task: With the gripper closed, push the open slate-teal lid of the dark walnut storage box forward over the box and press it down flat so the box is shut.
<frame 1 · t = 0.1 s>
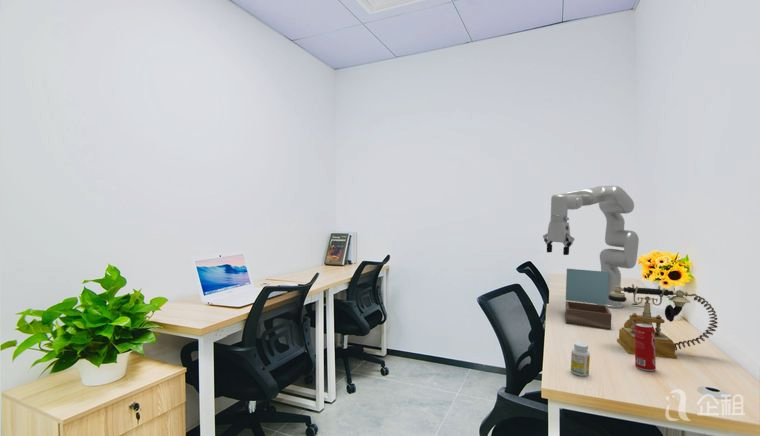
hand: (557, 253, 188), 31 cm above the table, tool pointing down, fingers open, 9 cm apart
rotary telephone: (655, 349, 147), on the table
beverage can: (643, 368, 129), on the table
lid: (586, 286, 188), point 15 cm above the table, hinge at 100.0°
supplement bottle: (579, 373, 125), on the table
storage box: (586, 321, 179), on the table
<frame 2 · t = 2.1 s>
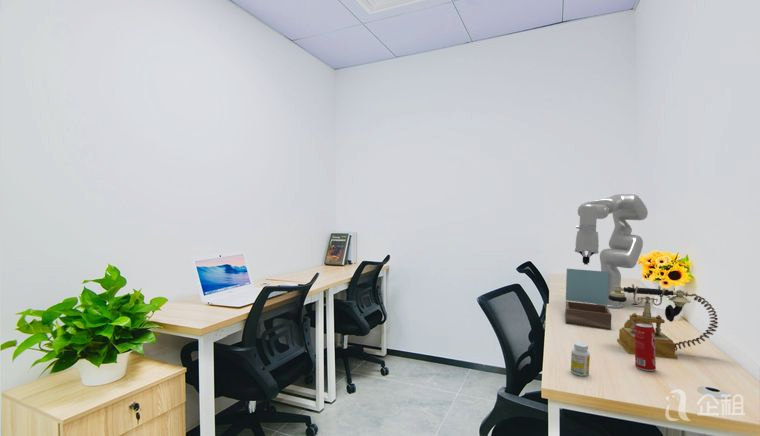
hand: (585, 264, 192), 25 cm above the table, tool pointing down, fingers closed
nothing on the table moved.
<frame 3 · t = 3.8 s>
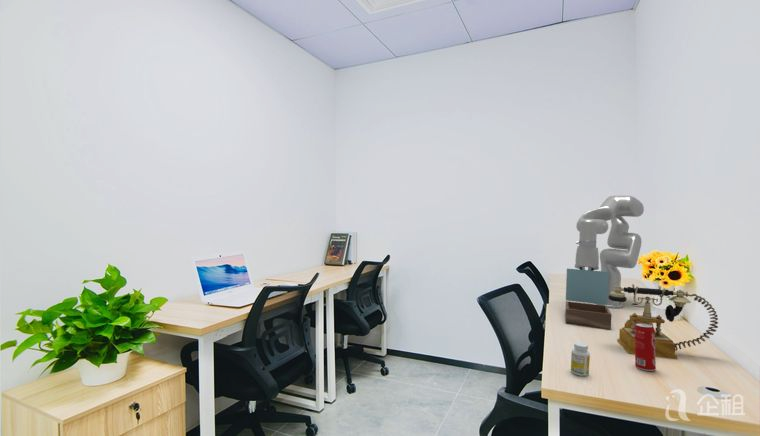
hand: (586, 280, 190), 18 cm above the table, tool pointing down, fingers closed
lid: (586, 286, 187), point 15 cm above the table, hinge at 97.0°, touching gripper
everything else where it was.
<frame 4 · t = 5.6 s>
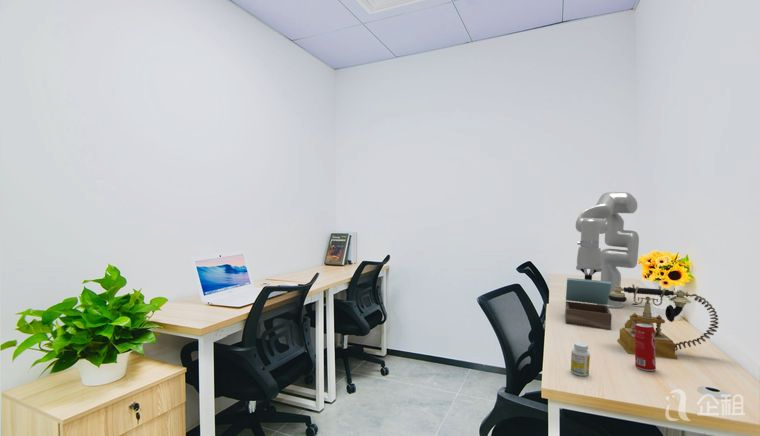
hand: (588, 282, 180), 18 cm above the table, tool pointing down, fingers closed
lid: (587, 291, 182), point 14 cm above the table, hinge at 50.6°, touching gripper
everything else where it was.
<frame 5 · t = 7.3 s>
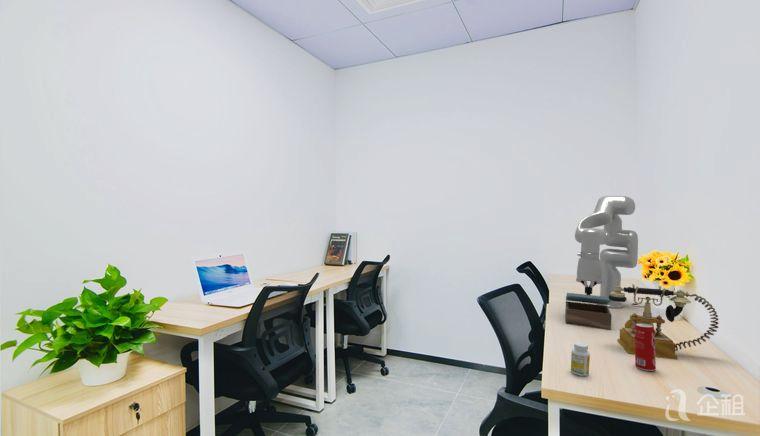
hand: (588, 295, 176), 14 cm above the table, tool pointing down, fingers closed
lid: (587, 298, 180), point 11 cm above the table, hinge at 21.5°, touching gripper
everything else where it was.
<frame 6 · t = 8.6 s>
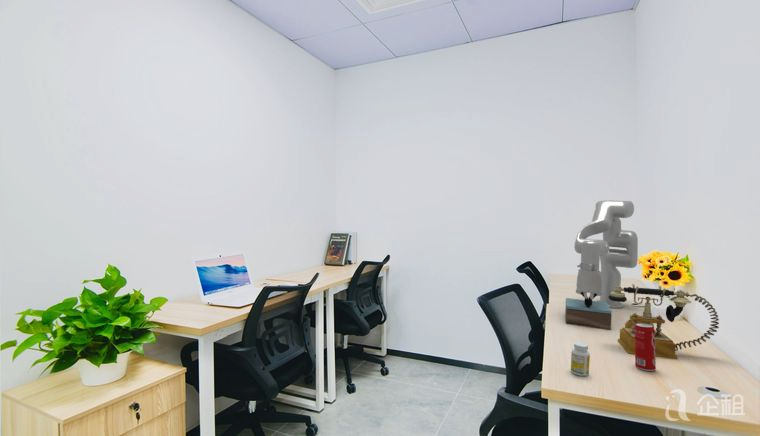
hand: (588, 306, 174), 9 cm above the table, tool pointing down, fingers closed
lid: (587, 305, 179), point 8 cm above the table, hinge at -0.4°, touching gripper
everything else where it was.
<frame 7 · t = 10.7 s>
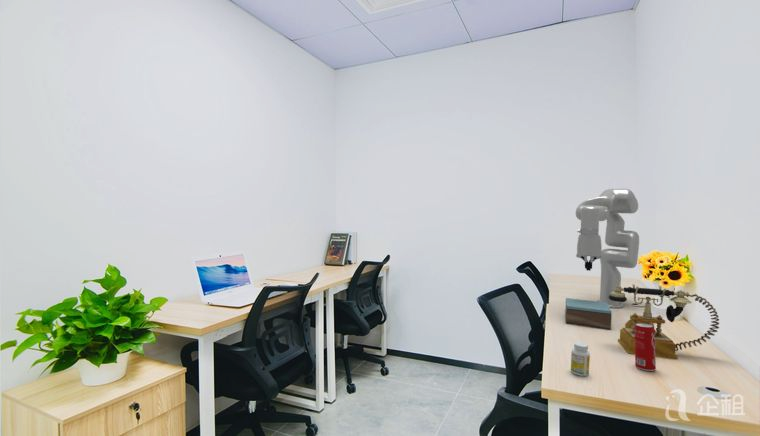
hand: (588, 270, 181), 24 cm above the table, tool pointing down, fingers closed
lid: (587, 305, 179), point 8 cm above the table, hinge at -0.4°
everything else where it was.
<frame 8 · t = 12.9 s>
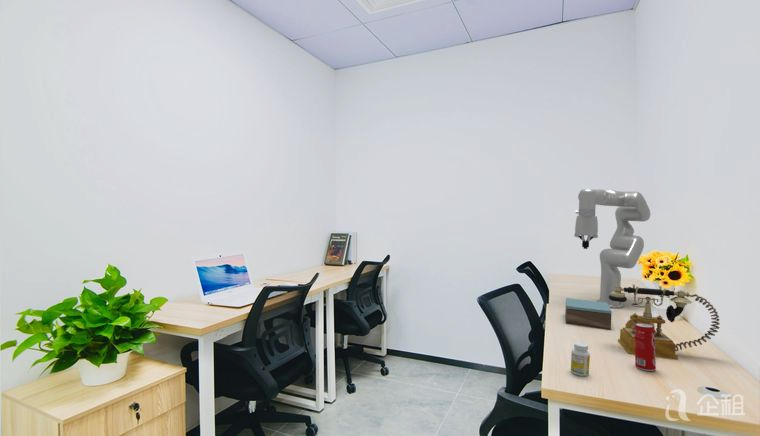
hand: (585, 248, 195), 33 cm above the table, tool pointing down, fingers closed
nothing on the table moved.
at the end: lid at +0° (first picture: +100°) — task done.
